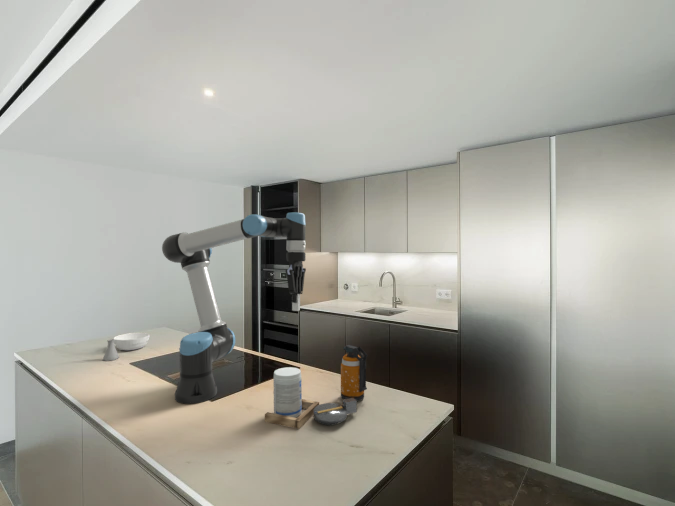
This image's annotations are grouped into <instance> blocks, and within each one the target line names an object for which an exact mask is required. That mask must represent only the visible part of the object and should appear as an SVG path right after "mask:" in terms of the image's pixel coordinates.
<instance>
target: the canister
mask: <svg viewBox="0 0 675 506" xmlns="http://www.w3.org/2000/svg"><path fill="white" fill-rule="evenodd" d="M343 350H344V351H345V352H346V353H345V354H344V355H343V356H342V358H341V363H340V398H341V400H344V399H349V398H354V399H355V400H356V402H358V401H362V400H363V399H364V398H365V391H366V390H368V388H367V358H368V354H367V353H366V352H365V351H364V349H362V347H361V346H358V347H357V346H354V345H351V344H348V345H345V346H343Z"/></svg>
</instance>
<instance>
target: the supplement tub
mask: <svg viewBox="0 0 675 506" xmlns="http://www.w3.org/2000/svg"><path fill="white" fill-rule="evenodd" d="M302 392H303V391H302V371H301V369H299V368H298V367H291V366H289V367H281V368H278V369H275V370H274V372H273V413H274V414H279V415H284V416H289V417H294V418H298V417H299V416H300V415H301V414H302V413H303V411H302V409H303V408H302V399H303V397H302Z"/></svg>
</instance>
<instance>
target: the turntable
mask: <svg viewBox="0 0 675 506" xmlns="http://www.w3.org/2000/svg"><path fill="white" fill-rule="evenodd" d="M353 413H354V414H355V413H357V401H356V400H355V399H354V398H349V399H342V404H340V403H335V402H327V403H326V402H325V403H320V404H319V405H318V406H316V407H315V408H314V415H313V419H314V421H315V422H317V423H320V424H322V423H323V424H322V425H324V424H336V425H338V424H341V423H342V422H344V421H346V419H347V417H348V415H349V414H350V415H351V414H353ZM337 423H338V424H337Z"/></svg>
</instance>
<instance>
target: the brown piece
mask: <svg viewBox="0 0 675 506" xmlns="http://www.w3.org/2000/svg"><path fill="white" fill-rule="evenodd" d="M318 405H320V401H316V400H310V399H303V398H302V409H306V410H304V411H303V412H301V414H300V415H299V416H298V417H296V418H294V417H289V416H284V415H279V414H274V412H266V413H264V422H265V423H268V424H274V425H279V426H284V427H288V428H293V429H297V430H300V429H302V427H303V426H304V425H305V424H306V423H308V421H309V420H310V419H312V417H314V408H315V407H316V406H318Z"/></svg>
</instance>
